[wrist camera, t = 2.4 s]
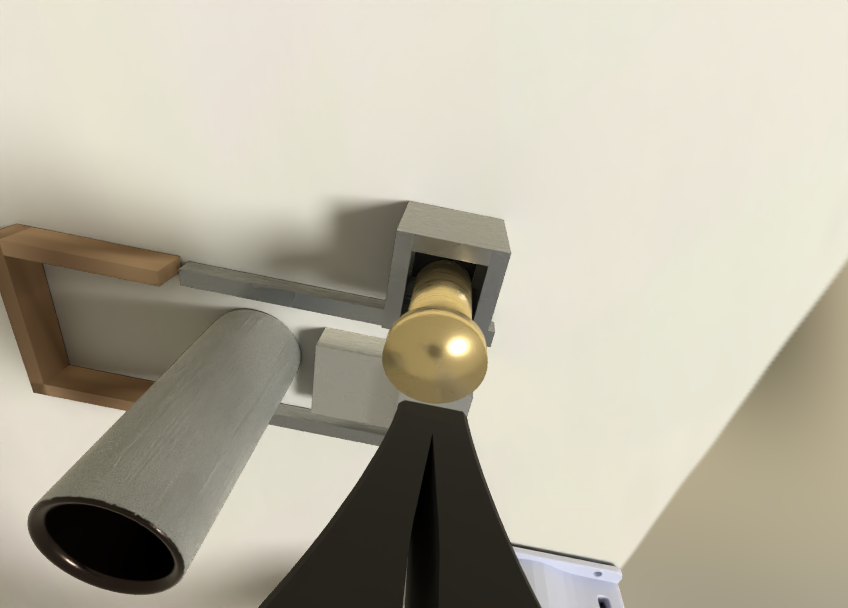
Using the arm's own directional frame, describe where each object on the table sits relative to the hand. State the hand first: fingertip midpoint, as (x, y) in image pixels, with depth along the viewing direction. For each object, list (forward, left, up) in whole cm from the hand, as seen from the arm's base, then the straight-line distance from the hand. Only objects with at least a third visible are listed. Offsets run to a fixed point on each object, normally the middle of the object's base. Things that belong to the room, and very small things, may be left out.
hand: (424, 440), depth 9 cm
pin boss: (0, 0, -10) cm, 10 cm away
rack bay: (+15, +7, -10) cm, 19 cm away
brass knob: (0, 0, -7) cm, 7 cm away
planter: (+8, +7, -11) cm, 15 cm away
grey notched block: (+1, +7, -10) cm, 13 cm away
